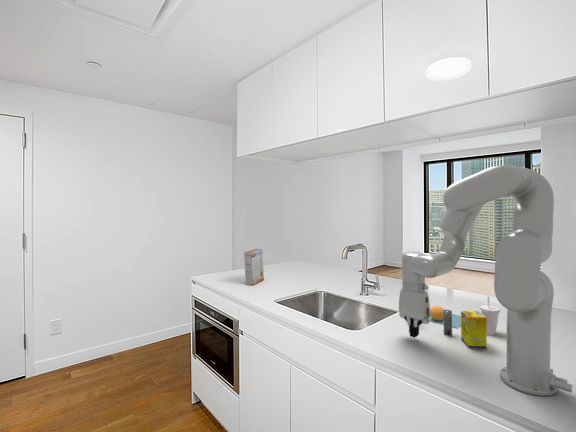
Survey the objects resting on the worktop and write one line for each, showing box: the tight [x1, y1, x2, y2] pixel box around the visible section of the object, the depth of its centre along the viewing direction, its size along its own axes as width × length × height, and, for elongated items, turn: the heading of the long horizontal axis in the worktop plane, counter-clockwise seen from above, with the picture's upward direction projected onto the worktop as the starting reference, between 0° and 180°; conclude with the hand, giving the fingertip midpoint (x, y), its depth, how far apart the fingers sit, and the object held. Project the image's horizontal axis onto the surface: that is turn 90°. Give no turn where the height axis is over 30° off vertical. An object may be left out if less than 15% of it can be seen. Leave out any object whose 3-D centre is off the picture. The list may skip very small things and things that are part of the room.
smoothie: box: [479, 296, 501, 336], centre depth 117 cm, size 6×6×14 cm
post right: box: [443, 309, 453, 337], centre depth 117 cm, size 3×3×9 cm
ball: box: [430, 305, 445, 321], centre depth 131 cm, size 6×6×6 cm
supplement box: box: [460, 310, 488, 349], centre depth 108 cm, size 6×6×11 cm
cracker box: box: [243, 248, 265, 286], centre depth 200 cm, size 14×6×21 cm, turn 155°
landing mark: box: [428, 313, 461, 329], centre depth 132 cm, size 14×14×1 cm
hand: (414, 335), depth 113 cm, fingers closed
